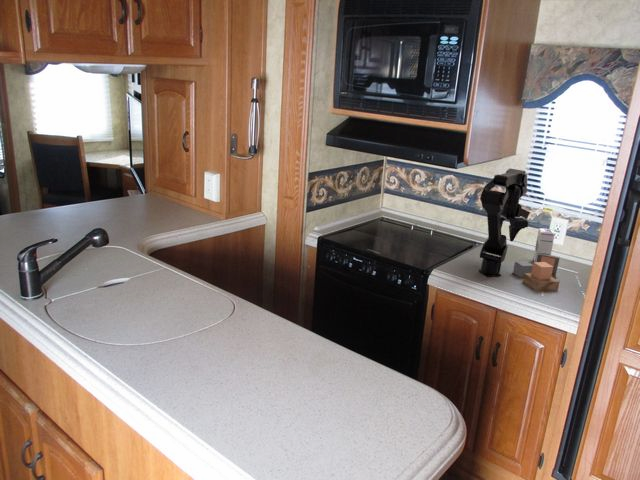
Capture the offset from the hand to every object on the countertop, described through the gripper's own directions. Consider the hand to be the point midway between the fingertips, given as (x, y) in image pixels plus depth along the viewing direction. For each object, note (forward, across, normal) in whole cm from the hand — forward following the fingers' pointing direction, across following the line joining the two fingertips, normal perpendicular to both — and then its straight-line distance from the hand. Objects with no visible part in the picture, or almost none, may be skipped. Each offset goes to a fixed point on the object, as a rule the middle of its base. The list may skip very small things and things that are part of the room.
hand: (504, 237), depth 225 cm
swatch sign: (+12, -12, -13) cm, 21 cm away
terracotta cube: (+8, -22, -3) cm, 23 cm away
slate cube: (+12, -11, -3) cm, 17 cm away
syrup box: (+12, 0, -20) cm, 23 cm away
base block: (+12, -22, -3) cm, 26 cm away
